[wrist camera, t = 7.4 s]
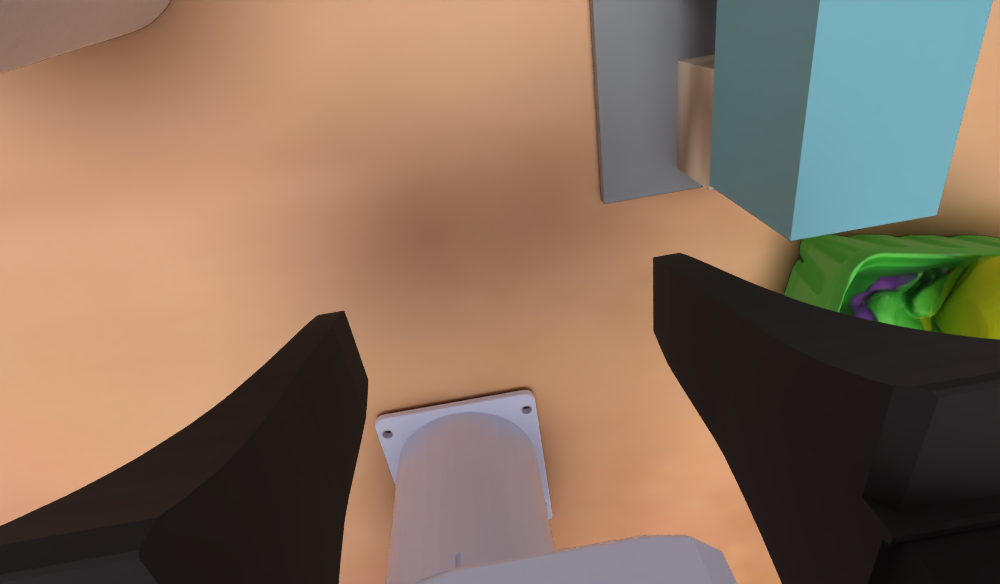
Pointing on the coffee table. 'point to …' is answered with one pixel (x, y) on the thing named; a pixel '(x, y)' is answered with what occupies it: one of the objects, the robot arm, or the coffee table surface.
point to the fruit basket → (904, 280)
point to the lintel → (840, 108)
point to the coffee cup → (66, 26)
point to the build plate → (643, 89)
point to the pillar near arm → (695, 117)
